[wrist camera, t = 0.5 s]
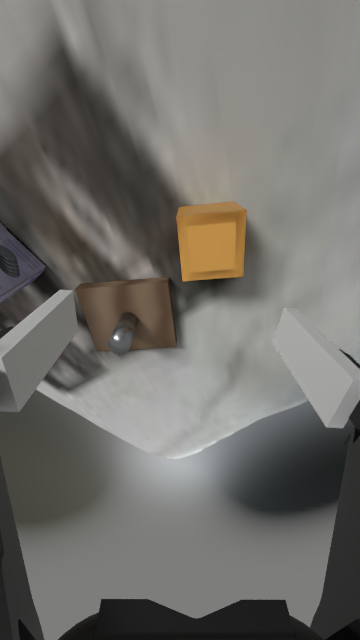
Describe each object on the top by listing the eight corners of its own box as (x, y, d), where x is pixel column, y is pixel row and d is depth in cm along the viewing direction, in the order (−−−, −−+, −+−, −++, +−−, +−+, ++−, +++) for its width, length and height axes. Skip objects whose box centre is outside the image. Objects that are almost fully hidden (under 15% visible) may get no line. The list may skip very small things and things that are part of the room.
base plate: (168, 277, 36) (167, 282, 34) (176, 340, 42) (176, 347, 41) (80, 283, 37) (75, 289, 35) (100, 344, 43) (97, 351, 42)
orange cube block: (233, 201, 30) (246, 210, 23) (232, 255, 34) (243, 276, 27) (179, 207, 31) (176, 216, 24) (183, 259, 34) (182, 281, 28)
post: (136, 311, 37) (127, 335, 32) (140, 327, 39) (131, 353, 33) (117, 312, 37) (105, 337, 32) (122, 328, 39) (111, 354, 33)
